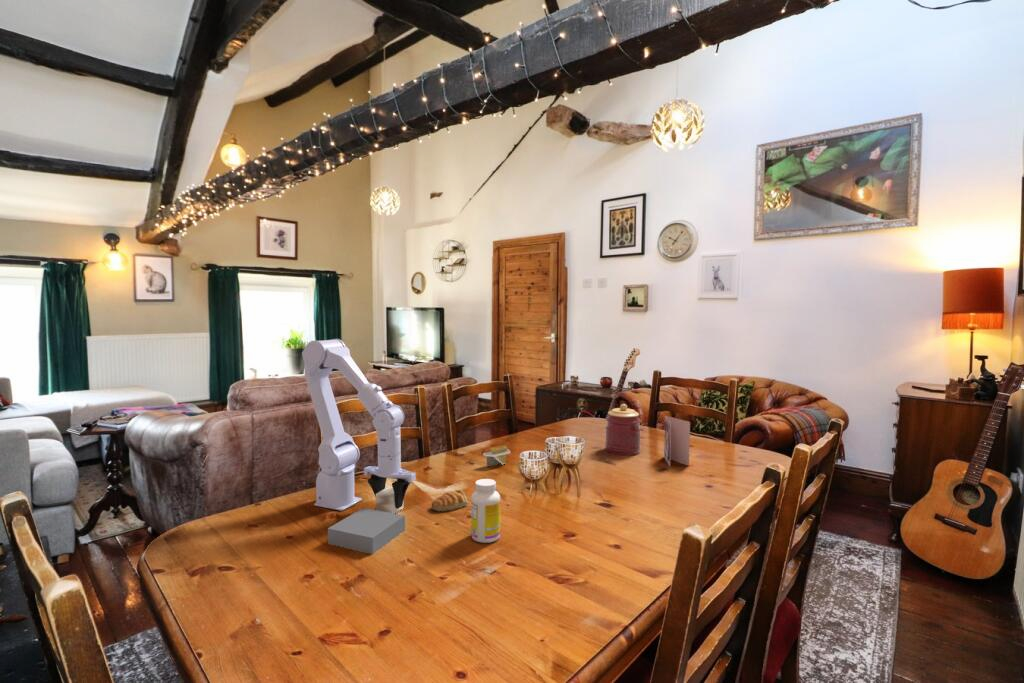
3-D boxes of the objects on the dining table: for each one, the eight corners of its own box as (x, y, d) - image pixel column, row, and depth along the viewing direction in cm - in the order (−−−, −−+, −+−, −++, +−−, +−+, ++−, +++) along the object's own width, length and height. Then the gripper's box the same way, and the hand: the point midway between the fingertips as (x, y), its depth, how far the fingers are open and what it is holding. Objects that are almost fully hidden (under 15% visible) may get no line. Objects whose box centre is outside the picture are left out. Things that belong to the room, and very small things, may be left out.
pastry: (440, 516, 122) (440, 501, 121) (426, 508, 127) (425, 494, 126) (469, 506, 128) (469, 492, 128) (455, 499, 133) (455, 485, 133)
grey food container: (530, 466, 162) (530, 447, 162) (485, 477, 151) (486, 456, 151) (508, 457, 171) (508, 439, 171) (465, 467, 160) (465, 448, 160)
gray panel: (328, 545, 106) (327, 528, 106) (363, 523, 117) (363, 507, 117) (372, 556, 102) (372, 537, 102) (405, 532, 113) (405, 515, 113)
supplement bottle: (504, 533, 112) (504, 479, 111) (494, 546, 106) (494, 489, 105) (477, 528, 114) (478, 475, 113) (466, 541, 108) (466, 485, 107)
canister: (605, 454, 174) (606, 406, 173) (604, 445, 187) (605, 400, 186) (642, 456, 172) (643, 408, 171) (638, 446, 185) (639, 401, 184)
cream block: (375, 513, 123) (375, 493, 122) (387, 505, 127) (387, 487, 127) (392, 516, 121) (392, 496, 120) (403, 508, 125) (403, 489, 125)
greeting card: (661, 456, 172) (662, 415, 171) (683, 457, 171) (684, 416, 170) (667, 466, 161) (668, 422, 160) (690, 467, 160) (691, 423, 159)
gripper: (422, 452, 124) (422, 503, 125) (375, 446, 129) (376, 495, 130) (406, 460, 118) (407, 514, 118) (358, 453, 123) (359, 505, 124)
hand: (389, 505), depth 124 cm, fingers closed on cream block, 5 cm apart
